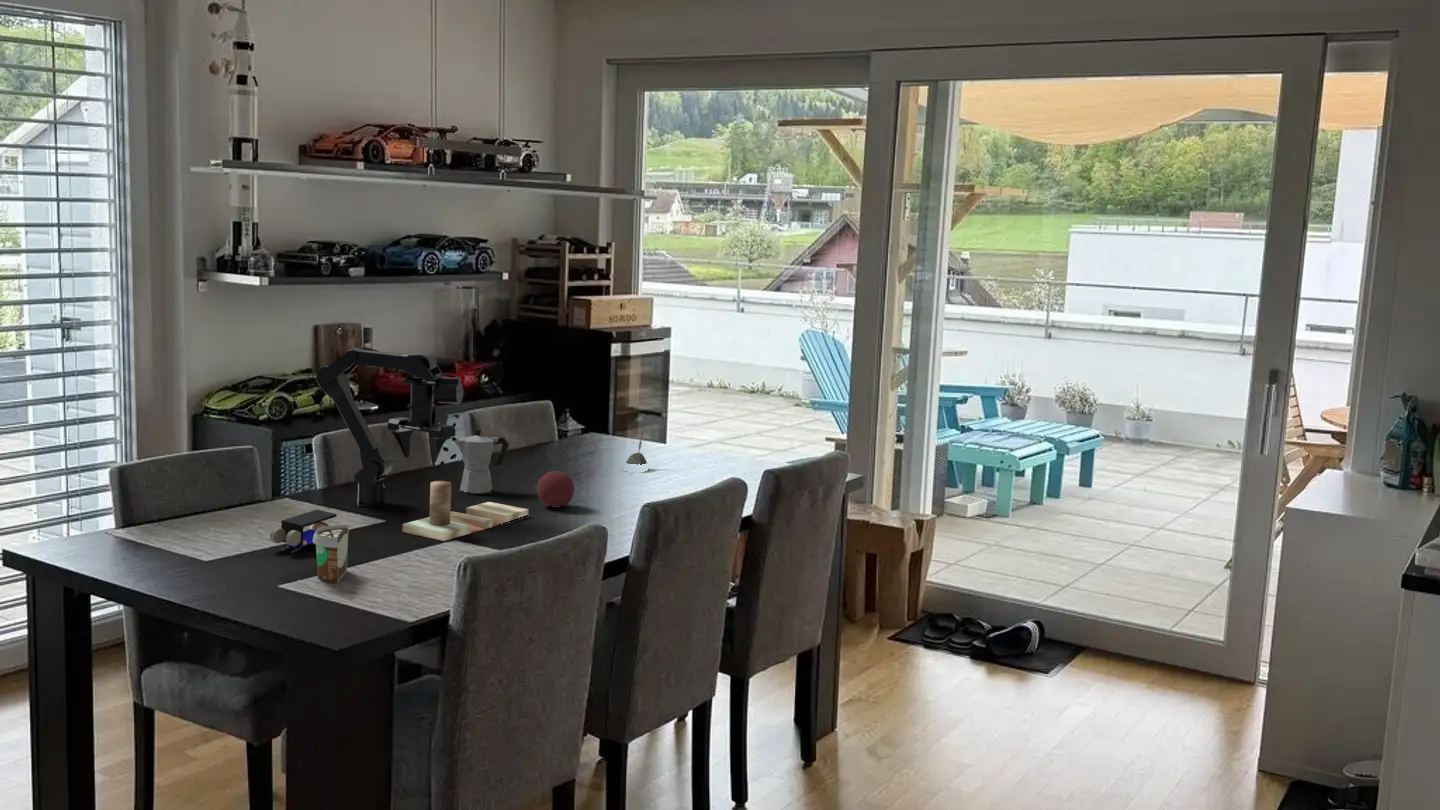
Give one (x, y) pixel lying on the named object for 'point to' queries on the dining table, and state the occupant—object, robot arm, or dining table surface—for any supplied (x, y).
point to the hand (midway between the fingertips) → (420, 459)
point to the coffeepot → (479, 461)
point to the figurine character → (300, 529)
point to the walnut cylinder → (440, 503)
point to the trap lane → (466, 521)
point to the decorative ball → (555, 489)
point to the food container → (331, 552)
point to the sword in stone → (637, 457)
